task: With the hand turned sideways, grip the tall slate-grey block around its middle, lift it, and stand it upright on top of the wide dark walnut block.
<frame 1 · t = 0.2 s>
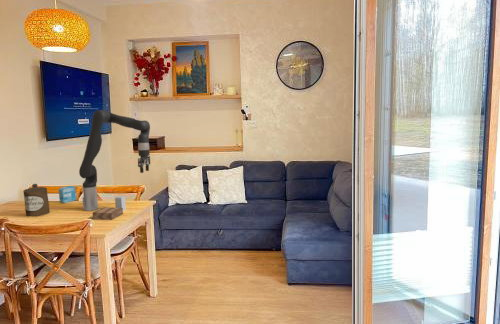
hand: (144, 171, 263), 29 cm above the table, tool pointing down, fingers open, 8 cm apart
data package: (68, 201, 301), on the table
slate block: (120, 210, 270), on the table
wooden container: (38, 214, 266), on the table
walnut block: (108, 217, 255), on the table
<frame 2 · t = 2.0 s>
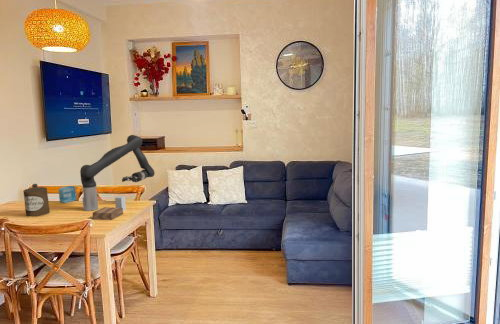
hand: (127, 180, 279), 20 cm above the table, tool horizontal, fingers open, 8 cm apart
nothing on the table moved.
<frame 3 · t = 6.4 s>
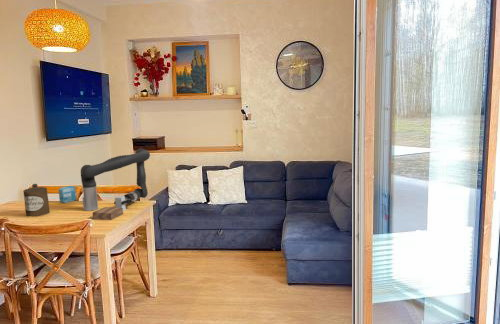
hand: (118, 203, 267), 6 cm above the table, tool horizontal, fingers closed on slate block, 5 cm apart
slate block: (120, 210, 270), on the table, touching gripper
everything else where it was.
when the fingers open (12 cm above the table, at t = 11.3 s): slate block drops 1 cm, resting on walnut block.
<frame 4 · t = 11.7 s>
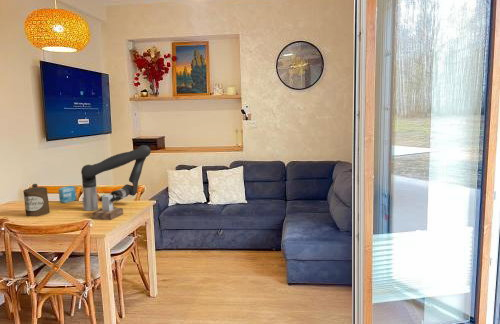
hand: (105, 200, 251), 12 cm above the table, tool horizontal, fingers open, 8 cm apart
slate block: (108, 210, 254), point 5 cm above the table, touching walnut block
walnut block: (108, 217, 255), on the table, touching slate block
everything else where it was.
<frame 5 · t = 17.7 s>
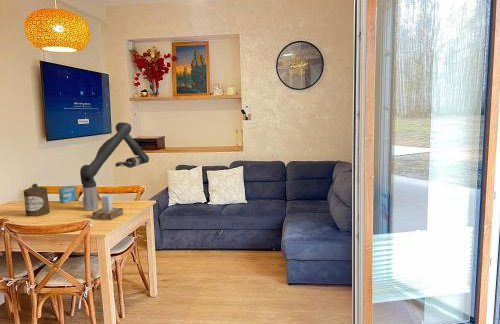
hand: (121, 165, 274), 32 cm above the table, tool horizontal, fingers open, 8 cm apart
nothing on the table moved.
at the end: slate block inside the target area on the walnut block (0.4 cm from its centre), point 5.0 cm above the walnut block's base; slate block tilted 1°; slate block touching walnut block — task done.
